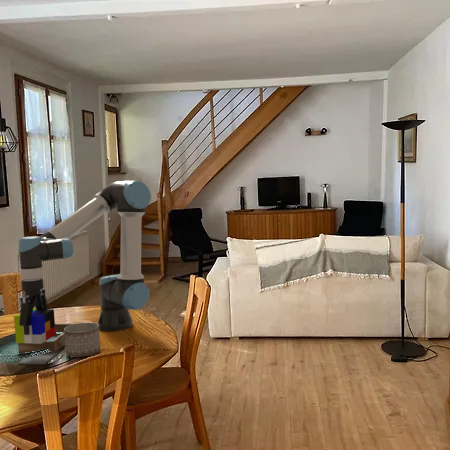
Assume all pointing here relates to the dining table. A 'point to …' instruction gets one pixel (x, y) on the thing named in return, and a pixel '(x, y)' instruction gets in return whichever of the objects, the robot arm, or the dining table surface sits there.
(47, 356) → the mat
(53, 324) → the puzzle toy
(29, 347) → the pocket frame
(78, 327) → the planter
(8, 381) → the dining table surface
